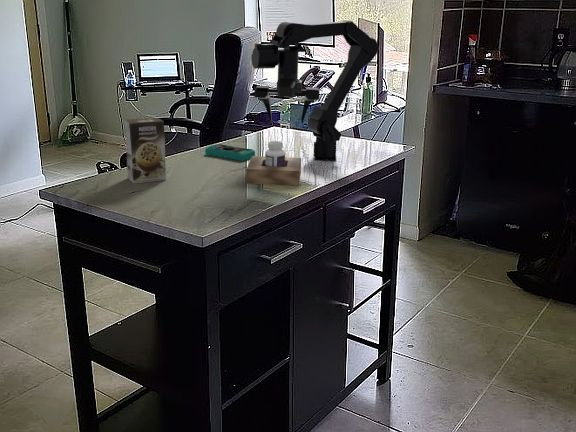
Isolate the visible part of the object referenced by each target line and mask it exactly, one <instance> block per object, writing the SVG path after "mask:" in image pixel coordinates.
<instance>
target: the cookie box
mask: <svg viewBox="0 0 576 432" xmlns="http://www.w3.org/2000/svg"><path fill="white" fill-rule="evenodd" d="M124 126H125V127H124V130H125V131H124V132H125V147H126V148H125V150H126V167H127V168H126V170H127V172H126V173H127V178H128V179H129V181H130V182H131V183H132V184H141V183H142V184H143V183H150V182H151V183H152V182H161V181H166V180H167V172H166V171H167V170H166V169H167V167H166V145H165V144H166V141H165V140H166V139H165V121H164V120H162V119H160V118H158V117H149V118H148V117H147V118H145V117H144V118H130V119H124Z"/></svg>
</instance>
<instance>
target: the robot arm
mask: <svg viewBox="0 0 576 432" xmlns="http://www.w3.org/2000/svg"><path fill="white" fill-rule="evenodd" d="M275 31H276V32H275V34H274V35H273V36H272V38H271V40H270V41H269V43H263V44H262V43H258V42H257V43H254V48H253V50H252V53H251V57H250V60H251V65H252V67H253V68H254V69H255V70H256V69H258V70H259V69H261V70H262V69H275V68H277V80H276V81H277V82H276V88H270V85H259V84H258V85H256V87H254V92H253V94H254V98H258V100H259V101H261V102H262V103H263V105H264V107H265V109H266V112H267V113H266V114H267V116H268V119H269V122H270V123H271V122H273V119H272V118H273V117H272V116H273V114H272V112H273V111H272V102H271V100H272V99H271V96H277V98H280V99H281V98H282V99H283V98H289V99H293V98H295V97H304V102H303V108H302V114H301V119H300V121H301V124H303V123H304V120H305V117H306V114H307V112H308V109H309V107H310V105H311V104H312V103H315V102H316V101H318V100H319V101H320V92H321V91H320V90H321V89H320V88H319V87H313V86H311V87H308V86H307V87H305V89H303V80H300V79H299V78H298V73H299V53H305V52H306V50H307V49H306V48H304V47H303V45H302V44H301V43H304V42H307V41H308V40H311V39H315V38H327V37H336V36H337V37H338V36H342V37H343V38H344V40H345V42H346V43H347V45H349V46H350V47H349V50H348V53H347V61H346V64H345V65H344V67H343V69H342V71H341V73H340V74H339V76H338V78H337V80H336V81H335V83H334V85H333V87H332V89H331V90H330V91H329V94H328V96H327V97H326V99H325V101H324V102H323V103H322V104H321V105H320V106H318V105H314V106H313V109H312V110H311V113H310V114H309V115H308V117H307V118H308V121H307V125H308V128H309V130H310V131H311V133H312V136H313V137H315V141H313V158H314V160H315V161H337V142H339V141H340V140H341V137H342V133H341V131H339V130H338V129H337V128H336V125H337V123H338V113H339V110H340V108H341V106H342V105H343V102H344V101H345V99H346V97H347V95H348V94H349V92H350V91H351V89H352V87H353V85H354V84H355V81H356V80H357V78H358V76H359V74H361V73H360V72H361V71H362V70H363V68H365V67H366V66H367V65H369V64H370V63H371V62H372V61H373V59H374V58H375V57H376V55H378V52H379V49H380V48H379V44H378V42H377V40H376V39H375V38H372V37H370V36H369V34H367V33H366V32H365V31H363V29H361V28H359V26H357V24H356V23H355V22H354V21H353V20H342V21H341V20H340V21H333V22H332V21H331V22H319V23H310V24H309V23H308V24H306V23H297V22H288V21H283V22H281V23H279V24H278V26H277V28H276V30H275ZM276 66H277V67H276Z"/></svg>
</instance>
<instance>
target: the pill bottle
mask: <svg viewBox="0 0 576 432" xmlns="http://www.w3.org/2000/svg"><path fill="white" fill-rule="evenodd" d="M283 146H284V145H283V142H282V141H277V140H273V141H268V143H267V148H268V149H267V150H266V151H265V152H264V153H265V154H264V156H265V166H273V167H285V157H286V151H285V150H284V149H283Z"/></svg>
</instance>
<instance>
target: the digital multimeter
mask: <svg viewBox="0 0 576 432" xmlns="http://www.w3.org/2000/svg"><path fill="white" fill-rule="evenodd" d="M204 150H205V155H206V154H207V155H206V156H209V155H212V156H211V157H215V156H218V157H217V158H221V157H224V158H223V159H227V158H229V159H228V160H232V159H234V160H233V161H237V160H238V162H244V161H248V160H251V158H252V156H256V150H255V149H252V148H245V147H239V146H238V147H237V146H232V145H227V144H221V143H216V144H212V145H209V146H208V147H205V149H204Z"/></svg>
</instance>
